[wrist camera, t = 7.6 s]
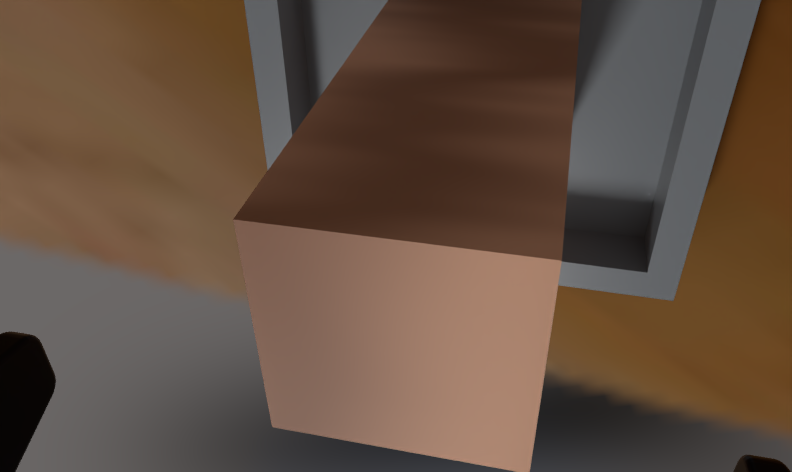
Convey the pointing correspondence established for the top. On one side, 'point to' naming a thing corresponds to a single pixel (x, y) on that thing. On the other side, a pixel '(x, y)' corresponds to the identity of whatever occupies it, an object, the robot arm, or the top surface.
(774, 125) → the top surface
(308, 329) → the terracotta peg
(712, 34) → the grey rectangular bin
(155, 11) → the top surface
